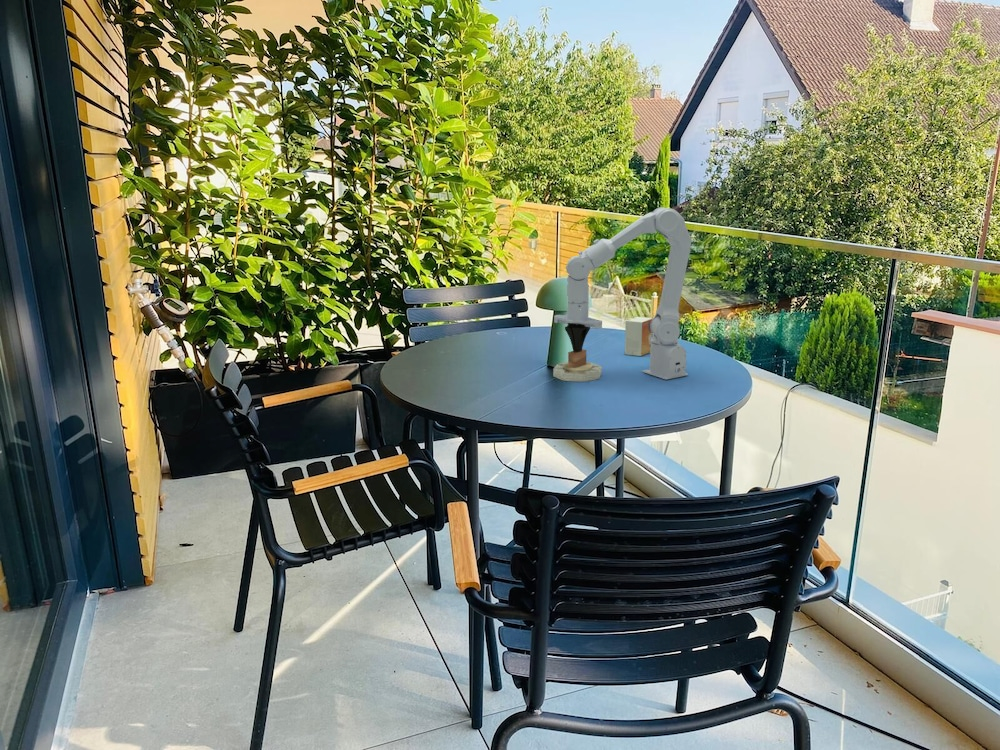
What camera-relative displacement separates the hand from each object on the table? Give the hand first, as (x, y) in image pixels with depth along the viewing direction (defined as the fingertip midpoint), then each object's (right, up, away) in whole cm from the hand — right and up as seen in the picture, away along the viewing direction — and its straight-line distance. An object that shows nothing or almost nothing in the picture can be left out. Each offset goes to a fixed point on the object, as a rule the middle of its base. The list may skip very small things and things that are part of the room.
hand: (577, 351), depth 191 cm
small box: (+21, 0, +24) cm, 32 cm away
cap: (0, -6, +2) cm, 7 cm away
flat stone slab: (0, -6, +2) cm, 7 cm away
